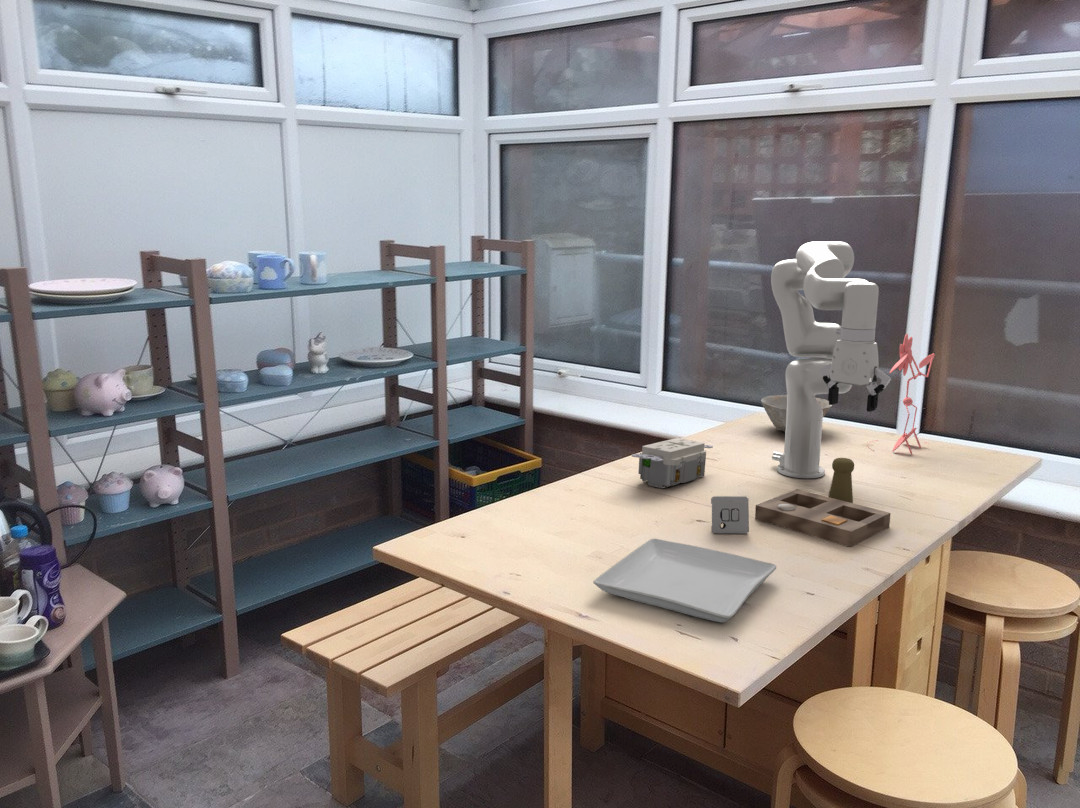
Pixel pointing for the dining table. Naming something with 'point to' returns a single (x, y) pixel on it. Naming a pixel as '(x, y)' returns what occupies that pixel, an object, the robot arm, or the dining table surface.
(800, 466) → the robot arm
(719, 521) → the electrical switch
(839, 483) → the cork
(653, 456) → the electrical outlet
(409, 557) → the dining table surface
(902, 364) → the figurine
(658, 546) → the square plate
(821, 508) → the socket board
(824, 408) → the ceramic bowl
